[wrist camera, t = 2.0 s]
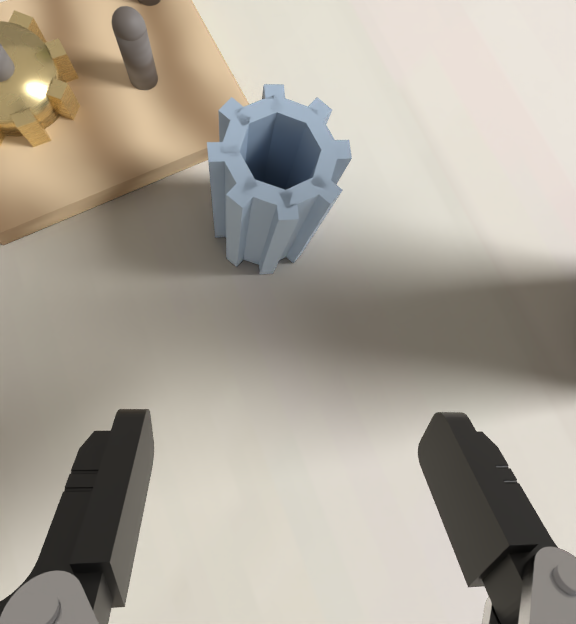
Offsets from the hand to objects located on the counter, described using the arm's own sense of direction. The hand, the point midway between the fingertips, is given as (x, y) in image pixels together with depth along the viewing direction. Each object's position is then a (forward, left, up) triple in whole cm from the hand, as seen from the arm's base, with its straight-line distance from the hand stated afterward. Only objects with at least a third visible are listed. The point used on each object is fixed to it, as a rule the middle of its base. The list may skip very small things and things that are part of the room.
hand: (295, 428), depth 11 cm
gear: (+4, -24, -13) cm, 28 cm away
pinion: (-6, -10, -15) cm, 19 cm away
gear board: (0, -23, -15) cm, 27 cm away
